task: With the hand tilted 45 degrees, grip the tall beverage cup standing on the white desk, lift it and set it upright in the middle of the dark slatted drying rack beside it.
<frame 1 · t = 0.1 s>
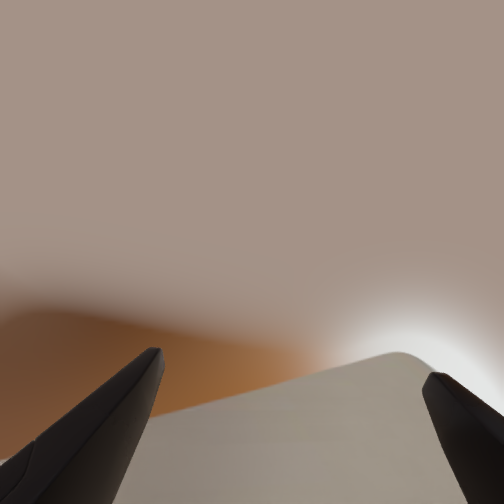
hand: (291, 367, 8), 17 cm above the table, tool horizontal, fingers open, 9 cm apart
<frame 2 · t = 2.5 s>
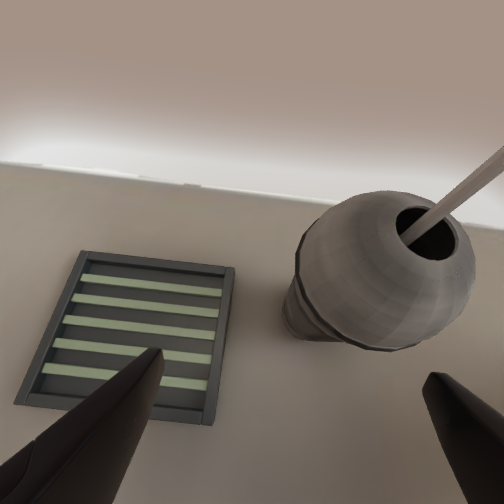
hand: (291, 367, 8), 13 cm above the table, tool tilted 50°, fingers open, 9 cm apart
drying rack: (145, 329, 21), on the table
beverage cup: (305, 314, 22), on the table
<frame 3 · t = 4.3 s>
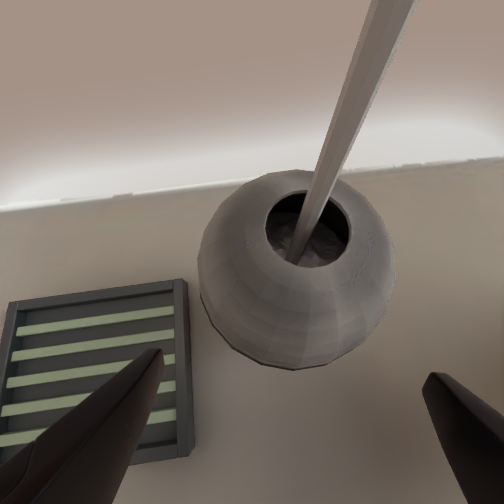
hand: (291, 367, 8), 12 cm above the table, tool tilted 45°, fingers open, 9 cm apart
drying rack: (102, 368, 19), on the table
beverage cup: (272, 307, 21), on the table
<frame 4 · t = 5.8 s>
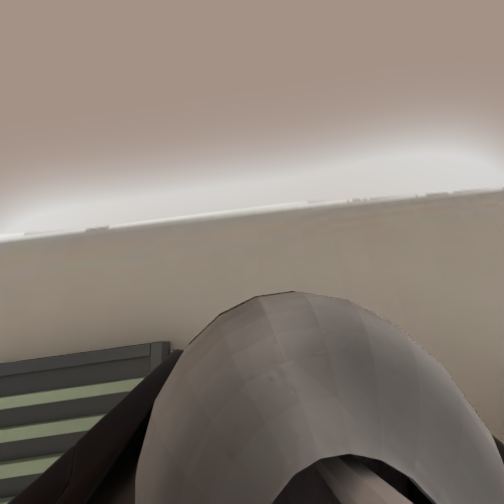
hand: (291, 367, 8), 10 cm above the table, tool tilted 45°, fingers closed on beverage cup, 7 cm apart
drying rack: (61, 455, 15), on the table
beverage cup: (271, 374, 17), on the table, touching gripper
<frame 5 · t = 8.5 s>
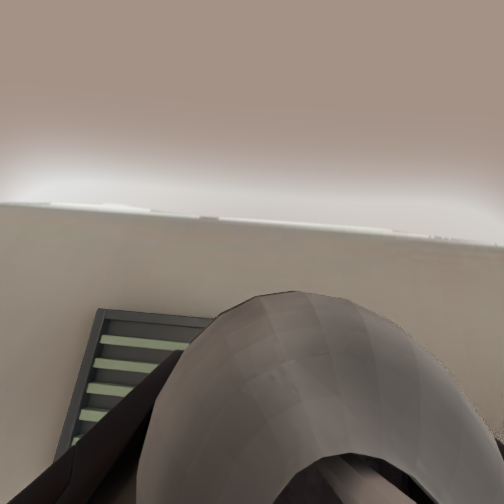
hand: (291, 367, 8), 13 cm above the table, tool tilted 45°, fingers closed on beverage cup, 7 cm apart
drying rack: (170, 392, 20), on the table
beverage cup: (272, 374, 17), point 3 cm above the table, touching gripper
when the fingers open (11 cm above the table, at t = 11.3 s): beverage cup stays where it is, resting on drying rack.
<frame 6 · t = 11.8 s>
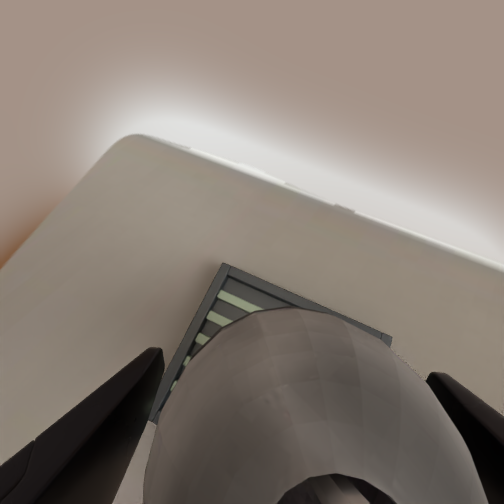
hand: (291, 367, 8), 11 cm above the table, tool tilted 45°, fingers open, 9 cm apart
drying rack: (271, 372, 19), on the table
beverage cup: (271, 378, 17), point 1 cm above the table, touching drying rack
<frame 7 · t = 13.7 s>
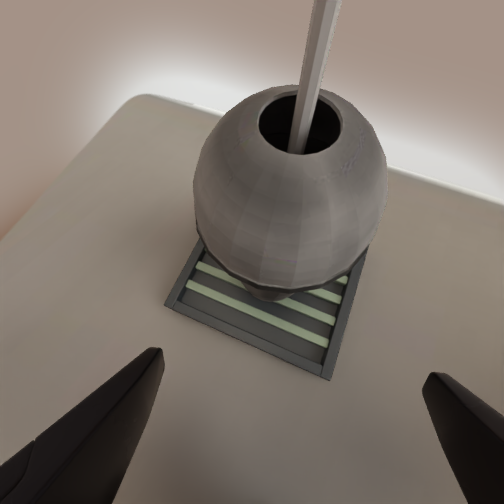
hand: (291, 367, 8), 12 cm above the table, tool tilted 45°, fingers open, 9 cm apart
drying rack: (269, 276, 22), on the table
beverage cup: (270, 275, 21), point 1 cm above the table, touching drying rack
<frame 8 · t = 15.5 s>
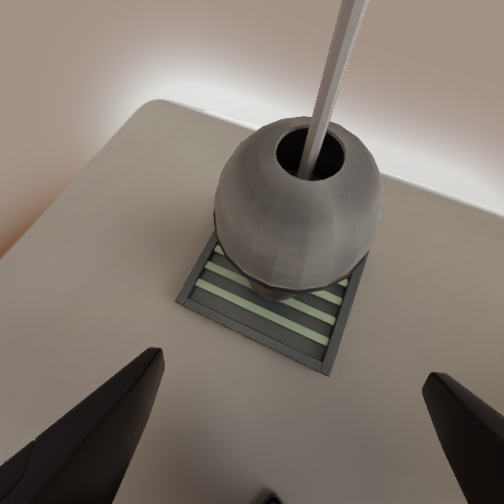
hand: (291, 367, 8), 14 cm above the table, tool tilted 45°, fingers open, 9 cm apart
drying rack: (274, 277, 23), on the table
beverage cup: (274, 276, 22), point 1 cm above the table, touching drying rack
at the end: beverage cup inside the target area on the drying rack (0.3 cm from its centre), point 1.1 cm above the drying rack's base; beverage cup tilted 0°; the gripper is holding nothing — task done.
